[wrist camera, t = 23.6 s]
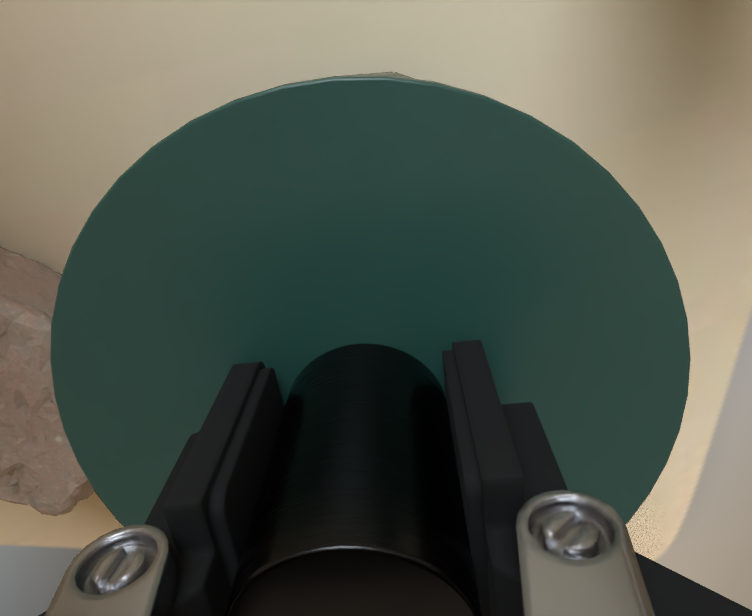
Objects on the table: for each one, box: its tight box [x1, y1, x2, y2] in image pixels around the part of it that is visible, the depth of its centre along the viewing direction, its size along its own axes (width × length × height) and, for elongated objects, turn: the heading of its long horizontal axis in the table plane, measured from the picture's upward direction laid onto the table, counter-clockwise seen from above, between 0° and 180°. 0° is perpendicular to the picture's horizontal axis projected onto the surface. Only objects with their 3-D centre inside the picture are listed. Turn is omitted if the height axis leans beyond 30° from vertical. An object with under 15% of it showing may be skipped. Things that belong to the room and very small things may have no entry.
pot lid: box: [50, 76, 690, 616], centre depth 10 cm, size 12×12×6 cm
